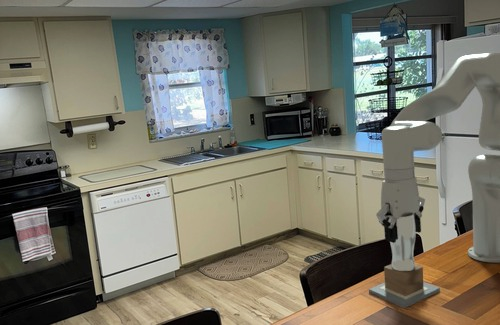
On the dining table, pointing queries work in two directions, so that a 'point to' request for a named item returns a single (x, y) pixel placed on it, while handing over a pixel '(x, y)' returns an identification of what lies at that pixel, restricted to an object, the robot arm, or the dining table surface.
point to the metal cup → (404, 244)
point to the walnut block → (404, 280)
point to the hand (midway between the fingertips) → (403, 236)
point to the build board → (401, 299)
